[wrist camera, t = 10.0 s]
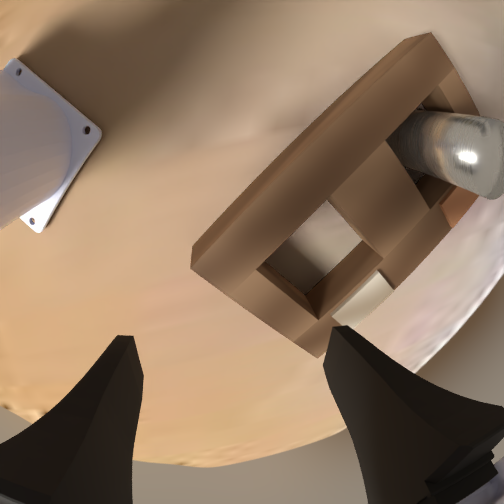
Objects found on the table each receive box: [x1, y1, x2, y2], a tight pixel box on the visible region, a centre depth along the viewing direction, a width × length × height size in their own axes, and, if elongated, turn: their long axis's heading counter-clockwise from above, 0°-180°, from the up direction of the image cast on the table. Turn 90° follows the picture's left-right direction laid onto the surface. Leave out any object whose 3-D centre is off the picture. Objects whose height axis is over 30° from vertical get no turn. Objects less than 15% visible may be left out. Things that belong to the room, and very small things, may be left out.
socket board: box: [190, 33, 480, 358], centre depth 17 cm, size 11×20×3 cm, turn 136°
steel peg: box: [385, 110, 504, 199], centre depth 14 cm, size 4×4×8 cm
